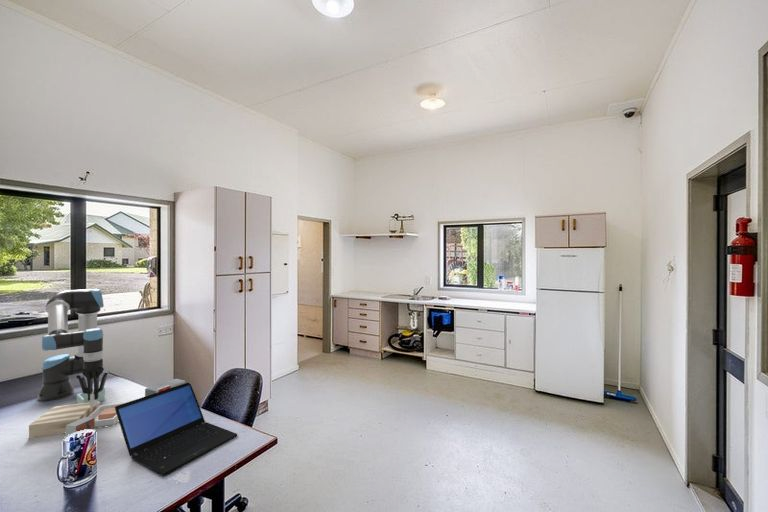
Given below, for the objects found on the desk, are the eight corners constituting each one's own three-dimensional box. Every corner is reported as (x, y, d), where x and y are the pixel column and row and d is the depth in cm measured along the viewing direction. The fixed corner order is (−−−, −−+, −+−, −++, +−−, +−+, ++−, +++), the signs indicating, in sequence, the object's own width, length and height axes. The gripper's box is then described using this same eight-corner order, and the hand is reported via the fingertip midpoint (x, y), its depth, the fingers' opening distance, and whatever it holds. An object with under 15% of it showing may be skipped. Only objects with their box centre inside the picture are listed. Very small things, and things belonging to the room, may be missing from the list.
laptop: (162, 479, 125) (162, 428, 125) (113, 451, 143) (113, 406, 143) (238, 437, 154) (238, 395, 154) (190, 418, 172) (190, 380, 172)
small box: (75, 450, 143) (75, 426, 143) (65, 449, 144) (65, 425, 144) (95, 440, 150) (95, 417, 150) (85, 439, 152) (85, 416, 152)
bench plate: (54, 418, 171) (54, 406, 171) (97, 412, 177) (97, 401, 177) (28, 438, 152) (28, 425, 152) (78, 431, 159) (78, 418, 159)
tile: (120, 407, 176) (120, 412, 176) (104, 409, 173) (104, 414, 173) (115, 412, 169) (115, 418, 169) (98, 415, 167) (98, 421, 167)
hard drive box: (153, 433, 157) (153, 391, 156) (143, 430, 160) (143, 388, 160) (185, 418, 171) (185, 380, 171) (175, 415, 174) (175, 377, 174)
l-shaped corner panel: (82, 413, 177) (82, 399, 177) (76, 407, 184) (76, 394, 184) (110, 405, 187) (110, 392, 187) (104, 400, 194) (104, 387, 194)
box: (99, 412, 178) (99, 405, 178) (129, 408, 182) (129, 401, 182) (80, 430, 159) (80, 423, 159) (113, 425, 164) (113, 418, 164)
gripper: (73, 363, 163) (73, 411, 163) (105, 360, 167) (105, 407, 168) (80, 358, 170) (80, 404, 170) (111, 356, 175) (112, 401, 175)
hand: (93, 406), depth 169 cm, fingers closed
